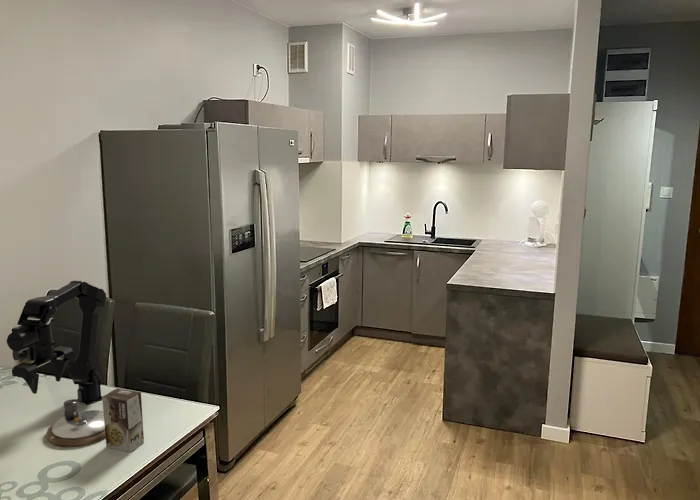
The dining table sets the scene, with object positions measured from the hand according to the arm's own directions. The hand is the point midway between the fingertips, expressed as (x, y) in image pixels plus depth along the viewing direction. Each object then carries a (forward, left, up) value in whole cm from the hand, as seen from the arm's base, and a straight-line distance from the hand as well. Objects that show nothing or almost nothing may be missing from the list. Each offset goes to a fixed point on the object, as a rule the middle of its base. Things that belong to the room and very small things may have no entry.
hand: (46, 387), depth 175 cm
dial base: (-5, +11, -13) cm, 18 cm away
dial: (-5, +11, -12) cm, 17 cm away
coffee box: (-8, +29, -13) cm, 33 cm away
